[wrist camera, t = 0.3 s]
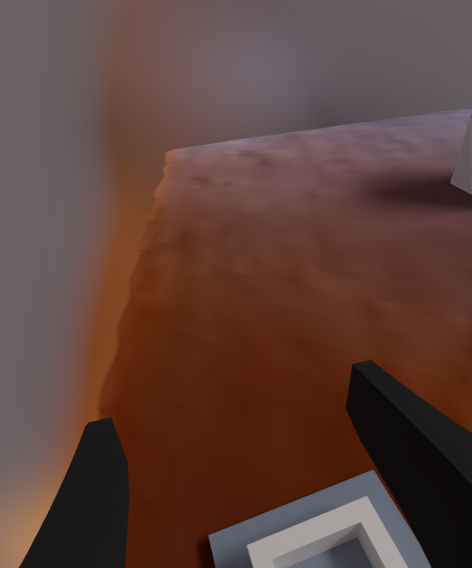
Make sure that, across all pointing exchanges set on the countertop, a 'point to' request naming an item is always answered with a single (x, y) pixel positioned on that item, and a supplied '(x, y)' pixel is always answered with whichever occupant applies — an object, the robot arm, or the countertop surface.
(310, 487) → the countertop surface
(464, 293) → the countertop surface
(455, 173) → the milk
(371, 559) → the socket plate
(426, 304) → the countertop surface
